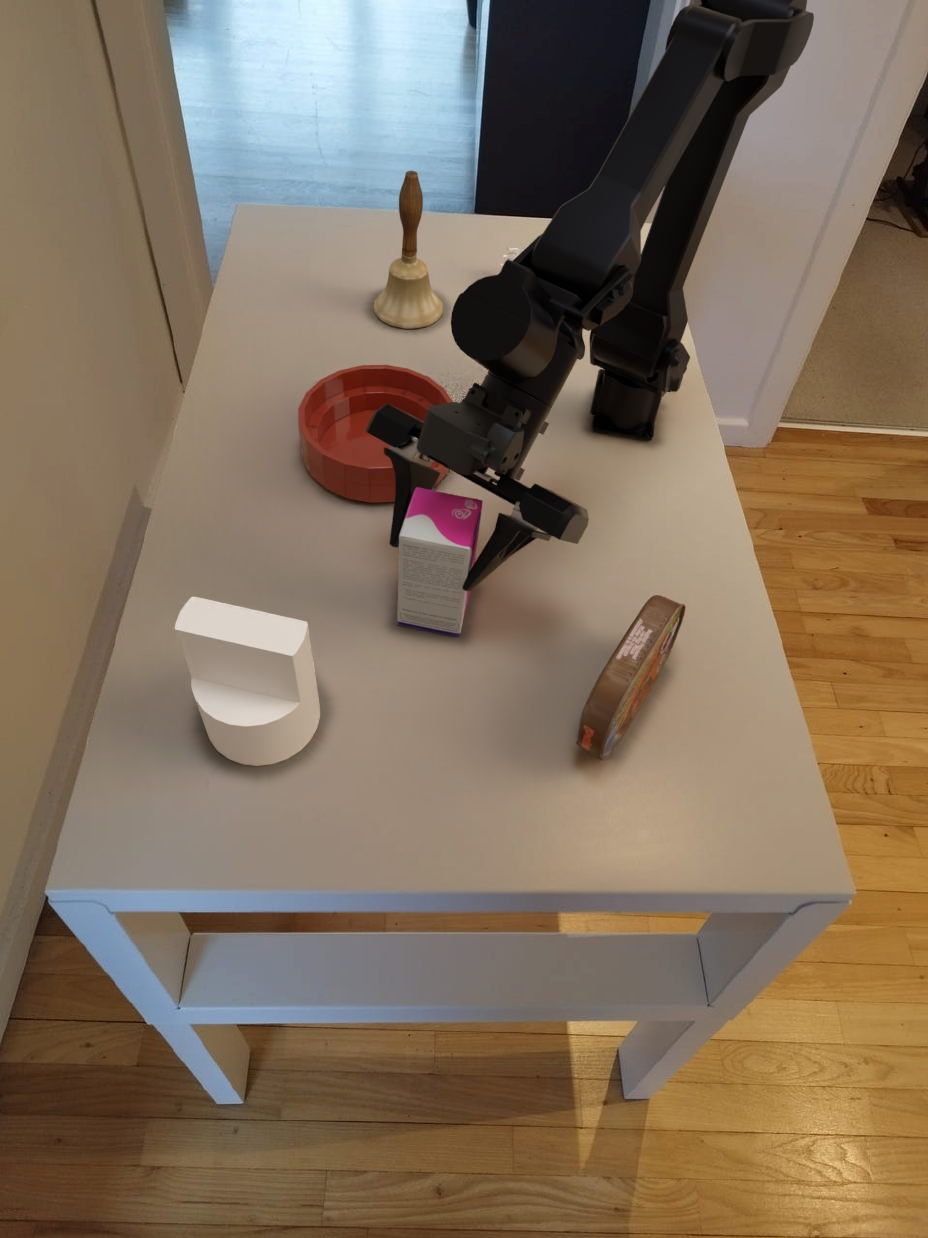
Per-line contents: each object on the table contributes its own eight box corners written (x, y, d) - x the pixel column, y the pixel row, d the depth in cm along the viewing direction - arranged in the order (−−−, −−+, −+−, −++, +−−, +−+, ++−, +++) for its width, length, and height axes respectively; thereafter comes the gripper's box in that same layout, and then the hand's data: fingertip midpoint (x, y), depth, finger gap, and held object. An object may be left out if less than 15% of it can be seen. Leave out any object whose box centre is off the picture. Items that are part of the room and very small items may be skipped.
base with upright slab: (335, 681, 72) (325, 590, 63) (298, 777, 67) (281, 693, 57) (231, 658, 73) (206, 564, 64) (186, 751, 68) (151, 663, 58)
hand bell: (402, 280, 108) (402, 146, 95) (457, 306, 105) (464, 172, 93) (358, 310, 104) (352, 174, 91) (414, 338, 101) (416, 202, 88)
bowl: (466, 417, 93) (469, 378, 89) (435, 518, 84) (437, 480, 80) (328, 392, 94) (325, 353, 90) (282, 490, 85) (276, 451, 81)
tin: (597, 780, 68) (618, 725, 62) (561, 760, 69) (578, 703, 62) (674, 649, 76) (700, 588, 70) (641, 632, 77) (664, 570, 70)
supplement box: (462, 638, 76) (469, 550, 66) (395, 625, 76) (393, 536, 67) (475, 588, 79) (483, 497, 70) (411, 575, 80) (411, 484, 70)
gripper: (377, 313, 64) (288, 504, 67) (596, 423, 58) (486, 627, 61) (439, 353, 74) (359, 518, 77) (630, 450, 68) (535, 624, 71)
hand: (428, 567), depth 72 cm, fingers closed on supplement box, 7 cm apart
